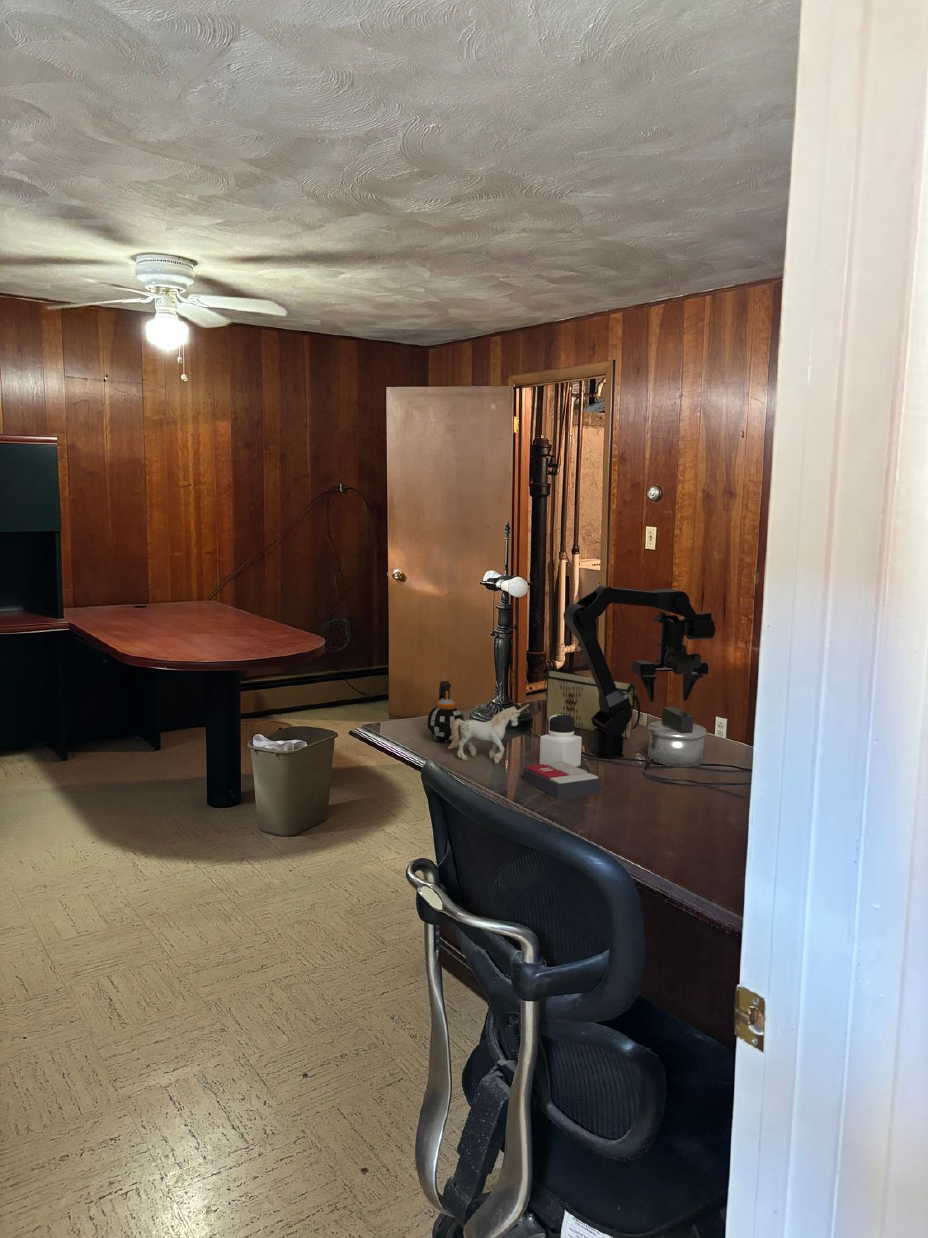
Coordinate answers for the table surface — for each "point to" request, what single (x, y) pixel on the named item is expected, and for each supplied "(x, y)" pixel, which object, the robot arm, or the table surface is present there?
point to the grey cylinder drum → (676, 751)
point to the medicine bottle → (560, 742)
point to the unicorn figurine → (483, 732)
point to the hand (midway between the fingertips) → (668, 701)
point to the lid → (676, 725)
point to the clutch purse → (580, 699)
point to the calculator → (562, 780)
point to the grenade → (443, 715)
